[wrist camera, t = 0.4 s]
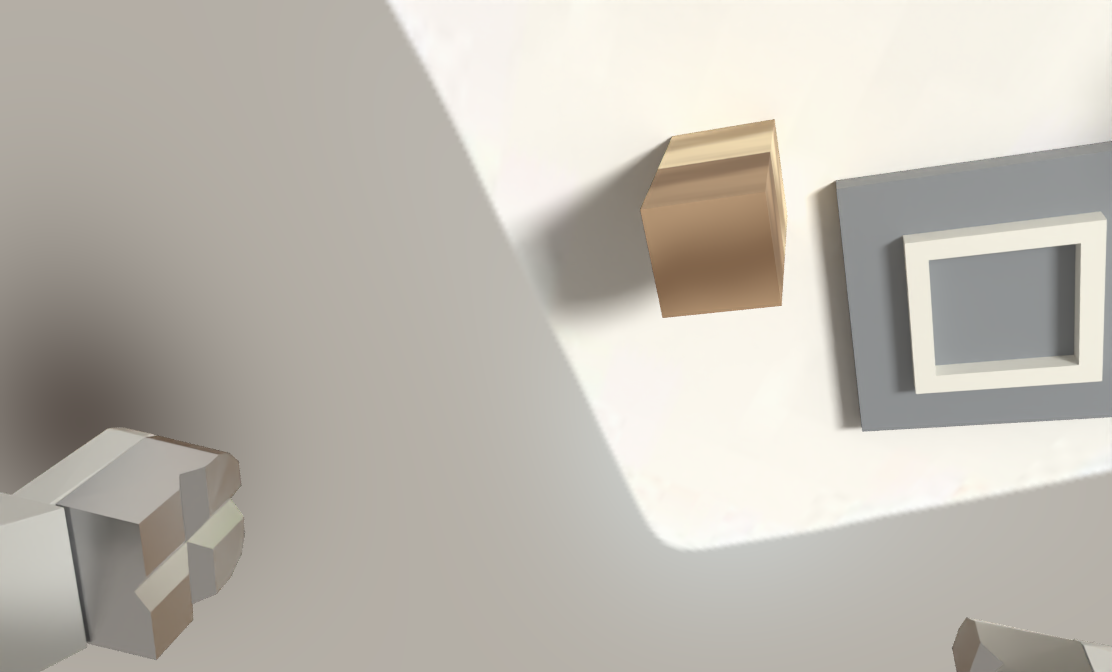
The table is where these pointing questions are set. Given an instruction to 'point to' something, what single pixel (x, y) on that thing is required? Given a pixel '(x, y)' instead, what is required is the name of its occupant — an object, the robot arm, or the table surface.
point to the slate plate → (982, 290)
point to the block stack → (718, 221)
